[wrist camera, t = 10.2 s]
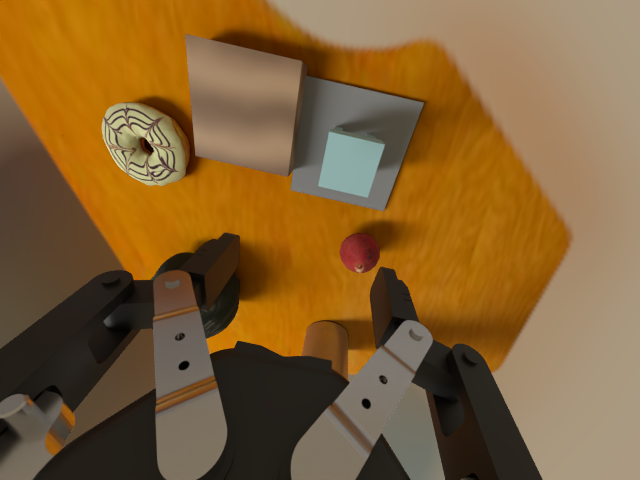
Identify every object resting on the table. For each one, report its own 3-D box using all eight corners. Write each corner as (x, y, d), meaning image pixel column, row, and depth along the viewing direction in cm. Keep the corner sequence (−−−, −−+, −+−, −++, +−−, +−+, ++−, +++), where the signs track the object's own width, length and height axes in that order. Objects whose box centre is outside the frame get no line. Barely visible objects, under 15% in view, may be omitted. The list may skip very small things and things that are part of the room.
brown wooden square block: (294, 168, 33) (287, 176, 30) (211, 149, 33) (195, 155, 30) (308, 65, 27) (302, 61, 24) (205, 41, 27) (185, 33, 24)
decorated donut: (203, 180, 36) (189, 188, 33) (139, 179, 37) (119, 187, 34) (181, 101, 31) (161, 102, 27) (107, 103, 32) (79, 103, 29)
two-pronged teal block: (376, 133, 29) (384, 144, 23) (363, 176, 32) (367, 197, 25) (333, 123, 29) (329, 131, 23) (324, 167, 32) (318, 186, 25)
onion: (366, 217, 36) (369, 245, 29) (383, 244, 38) (390, 276, 31) (334, 234, 38) (330, 264, 31) (352, 259, 40) (353, 292, 34)
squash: (184, 235, 35) (99, 327, 30) (264, 290, 40) (203, 377, 35) (187, 241, 47) (128, 307, 42) (248, 282, 52) (201, 346, 47)
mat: (383, 209, 35) (383, 211, 35) (291, 188, 35) (290, 190, 34) (422, 102, 28) (424, 102, 27) (306, 75, 28) (306, 75, 27)
